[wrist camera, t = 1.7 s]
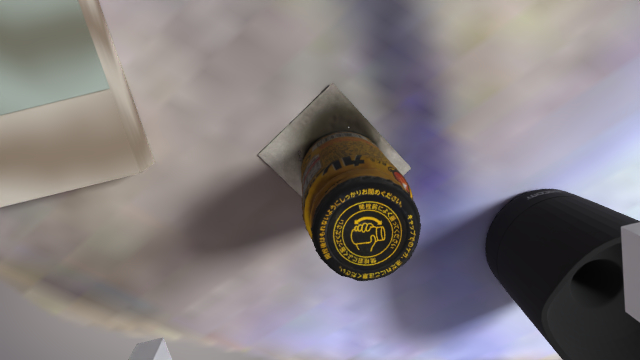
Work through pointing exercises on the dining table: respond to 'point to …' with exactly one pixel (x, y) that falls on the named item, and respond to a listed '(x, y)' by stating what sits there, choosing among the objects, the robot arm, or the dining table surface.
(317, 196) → the condiment
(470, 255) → the dining table surface
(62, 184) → the cream flat block
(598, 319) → the pen holder
